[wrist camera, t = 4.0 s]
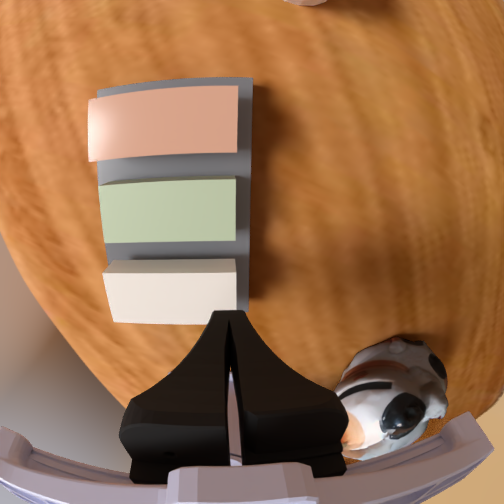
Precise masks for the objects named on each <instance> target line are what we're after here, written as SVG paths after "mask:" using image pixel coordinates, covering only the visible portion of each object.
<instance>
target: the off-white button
mask: <svg viewBox="0 0 504 504" xmlns="http://www.w3.org/2000/svg"><path fill="white" fill-rule="evenodd" d="M102 274H103V279H104V283H105V288H106V293H107V297H108V301H109V305H110V309H111V313H112V317H113V321H114V322H123V323H147V324H208V322H209V320H210V317H211V314H212V312H213V311H214V310H236V264H235V259H170V260H113V261H112V262H111V263H110V265H109V266H108V267H107V268H106V269H105V271H104V272H103V273H102Z"/></svg>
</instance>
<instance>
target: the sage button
mask: <svg viewBox="0 0 504 504" xmlns="http://www.w3.org/2000/svg"><path fill="white" fill-rule="evenodd" d="M98 189H99V201H100V211H101V219H102V227H103V235H104V242H105V243H132V242H180V241H236V178H235V176H184V177H162V178H145V179H131V180H118V181H110V182H107V183H105V184H102V185H100V186H98Z"/></svg>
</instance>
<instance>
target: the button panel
mask: <svg viewBox="0 0 504 504" xmlns="http://www.w3.org/2000/svg"><path fill="white" fill-rule="evenodd" d="M192 86H238V121H237V153H187V154H167V155H152V156H139V157H128V158H118V159H109V160H101V161H97V170H98V186H100V185H102V184H105V183H107V182H110V181H118V180H131V179H145V178H162V177H184V176H235V178H236V241H180V242H132V243H105V247H106V253H107V259H108V265H110V263H111V262H112V261H113V260H170V259H235V264H236V310H243V311H244V312H248V307H249V249H250V196H251V146H252V98H253V78H243V77H210V78H187V79H172V80H161V81H152V82H144V83H136V84H129V85H123V86H117V87H111V88H106V89H101V90H98V91H97V98H100V97H105V96H111V95H117V94H123V93H130V92H137V91H145V90H154V89H164V88H176V87H192Z"/></svg>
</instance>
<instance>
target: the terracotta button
mask: <svg viewBox="0 0 504 504" xmlns="http://www.w3.org/2000/svg"><path fill="white" fill-rule="evenodd" d="M237 121H238V86H192V87H176V88H164V89H154V90H145V91H137V92H130V93H123V94H117V95H111V96H105V97H100V98H95V99H90V100H89V108H88V153H89V162H93V161H101V160H109V159H118V158H128V157H139V156H152V155H167V154H187V153H237Z"/></svg>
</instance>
